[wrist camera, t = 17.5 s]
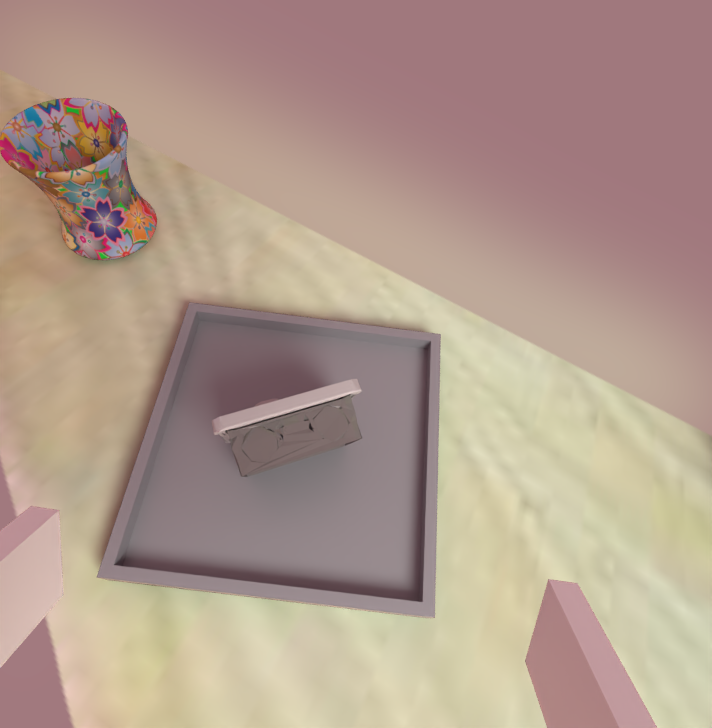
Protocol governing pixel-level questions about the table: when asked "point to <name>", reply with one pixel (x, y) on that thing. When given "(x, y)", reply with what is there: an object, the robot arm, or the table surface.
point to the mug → (82, 174)
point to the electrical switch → (291, 427)
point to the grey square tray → (288, 469)
